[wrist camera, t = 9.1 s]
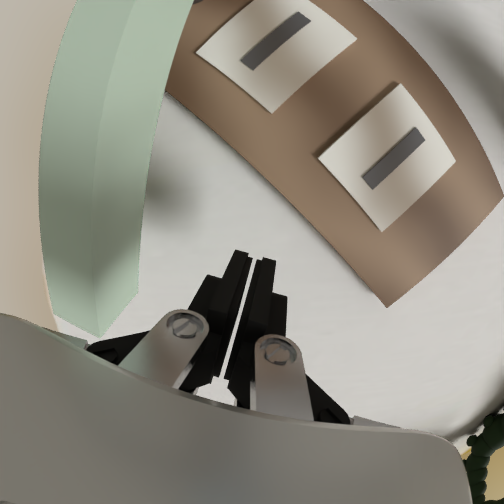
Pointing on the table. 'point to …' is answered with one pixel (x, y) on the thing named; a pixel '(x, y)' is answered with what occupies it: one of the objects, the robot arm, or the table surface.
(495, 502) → the toy figurine
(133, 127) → the swing bar
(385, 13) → the table surface
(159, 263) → the table surface
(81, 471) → the robot arm
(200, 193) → the table surface
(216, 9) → the label board
